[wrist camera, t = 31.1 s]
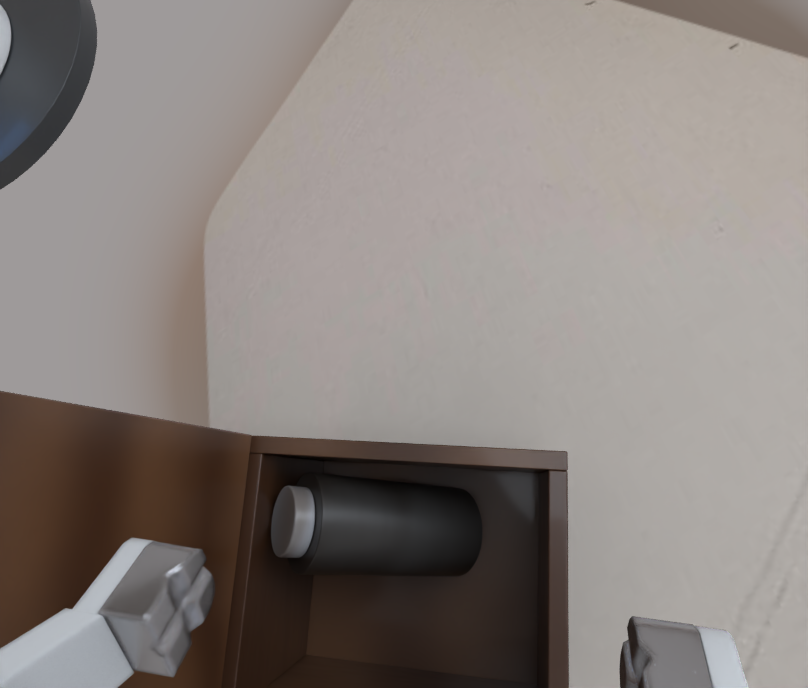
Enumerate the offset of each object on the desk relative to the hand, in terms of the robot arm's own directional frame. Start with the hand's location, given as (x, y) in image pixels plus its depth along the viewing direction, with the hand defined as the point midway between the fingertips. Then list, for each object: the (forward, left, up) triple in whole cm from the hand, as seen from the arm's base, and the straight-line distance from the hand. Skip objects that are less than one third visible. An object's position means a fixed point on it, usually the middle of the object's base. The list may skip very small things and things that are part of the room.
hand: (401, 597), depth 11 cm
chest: (-3, -3, -24) cm, 24 cm away
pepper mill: (-1, -1, -21) cm, 21 cm away
